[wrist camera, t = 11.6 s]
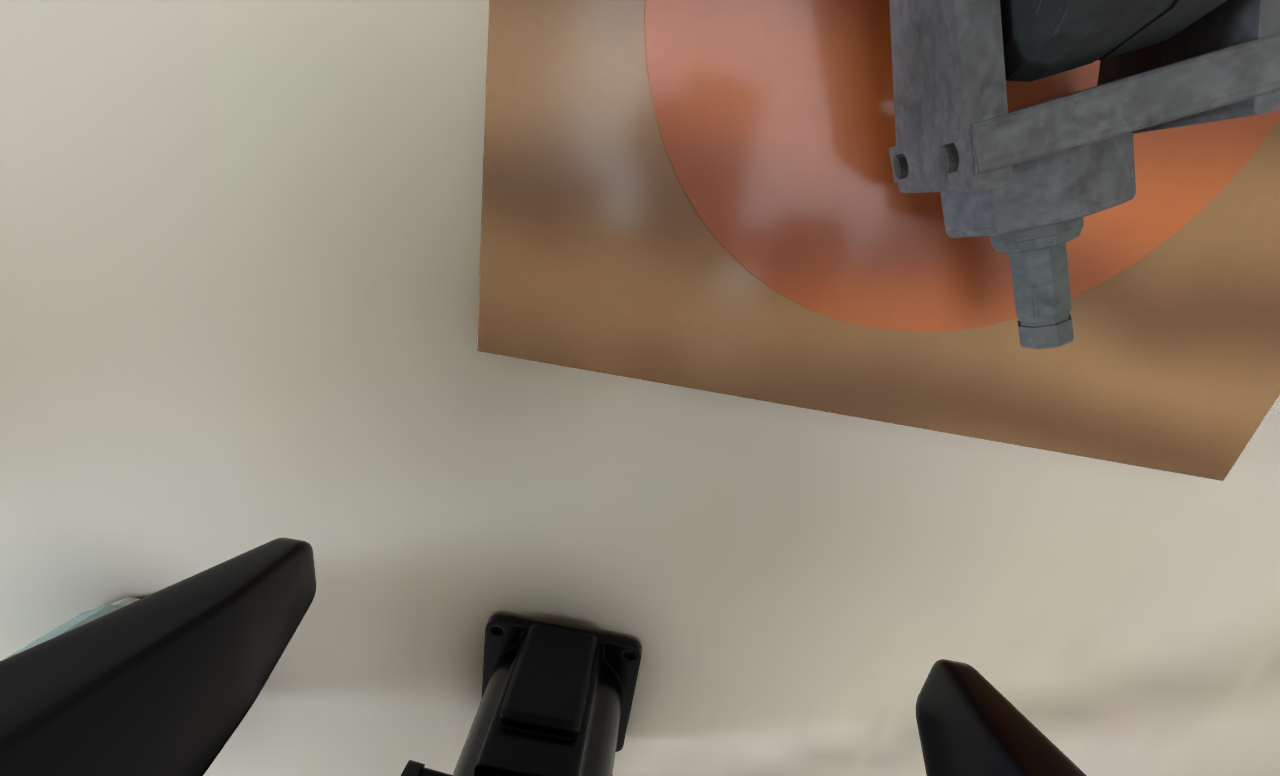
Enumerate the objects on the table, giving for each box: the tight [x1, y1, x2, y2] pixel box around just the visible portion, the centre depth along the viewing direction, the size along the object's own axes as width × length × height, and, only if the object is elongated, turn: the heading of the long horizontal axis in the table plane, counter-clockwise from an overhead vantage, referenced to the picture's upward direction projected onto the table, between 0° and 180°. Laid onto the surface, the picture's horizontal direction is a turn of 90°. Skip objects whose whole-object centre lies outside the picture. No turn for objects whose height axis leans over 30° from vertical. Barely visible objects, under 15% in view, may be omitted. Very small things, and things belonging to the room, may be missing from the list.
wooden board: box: [477, 0, 1280, 481], centre depth 15 cm, size 22×24×1 cm
